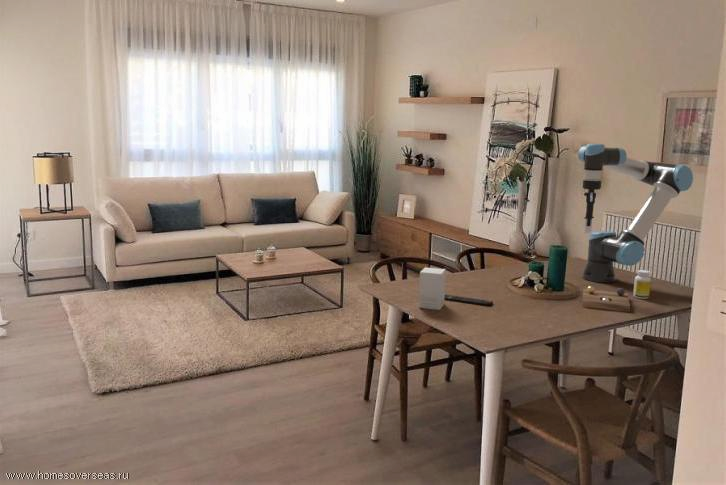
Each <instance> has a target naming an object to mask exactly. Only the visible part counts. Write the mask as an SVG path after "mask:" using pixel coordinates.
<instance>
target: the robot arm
mask: <svg viewBox="0 0 726 485" xmlns="http://www.w3.org/2000/svg"><path fill="white" fill-rule="evenodd" d="M577 158H578V160H580V162H583V163H584V165H583V166H584V167H583V171H582V172H581V174H583V180H582V189H584V190H587V192H586V193H585V198H586V199H585V202H586V210H585V211H586V212H585V216H584V218H583V219H585V223H584V234H590V236H589V239H588V248H587V250H588V251H587V260H586V264H585V266H584V268H583V270H582V273H581V274H582V275H581V278H582V279H584V280H587V281H590V282H594V283H595V282H596V283H613V282H615V281H616V280H617V276H616V270H615V267H614V263H617V264H619V265H622V266H627V267H628V266H629V267H630V266H631V267H632V266H635V265H637V264H639V263H640V262H641V261H642V260H643V258H644V255H645V253H644V252H645V250H646V249H645V243H646V242H645V239H646V237H647V235H648V234H649V232H650V231H651V229H652V228H653V227H654V225H655V224H656V223H657V220H658V219H659V218H660V217H661V215H662V214H663V212H664V210H665V209H666V207H667V206H668V204H670V201H671V200H672V199H674V198H677V197H678V196H679V195H680V193H681V192H685V191H689V189H690V188H691V187H692V184H693V182H694V177H693V176H694V174H693V171H692V169H691V168H690V166H688V165H686V164H685V165H684V164H680V163H679V164H677V163H676V164H675V163H668V162H659V161H657V162H654V161H648V160H637V159H633V158H631V157H628V155H627V152H626V150H625V149H624V148H621V147H605V145H604V143H588V144H586V145H584V146H582V147H580V148H579V150H578V152H577ZM603 168H605V169H608V170H611V171H614V172H619V173H621V174H623V175H628V176H630V177H633V179H634V180H636V181H639V182H642V183H644V184H647V185H649V186H652V187H653V190H652V191H651V193H650V194H649V196H648V198H647V199H646V200H645V202H644V203H643V205H642V207H641V208H640V209H639V210H638V212H637V213H636V215H635V217H634V218H633V220H632V221H631V223H630V224H629V225H628V227H627V229H624V230H621V231H620V232H619V234H618V235H617V233H616V231H611V230H609V231H608V230H606V231H604V230H602V231H601V230H599V231H593V232H592V227H593V219H594V218H595V217H594V205H595V203H596V197H597V193H596V192H595V191H597V190H600V189H602V188H601V187H602V181H601V180H602V179H603Z"/></svg>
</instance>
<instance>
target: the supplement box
mask: <svg viewBox="0 0 726 485" xmlns="http://www.w3.org/2000/svg"><path fill="white" fill-rule="evenodd" d="M446 272H447V271H446V268H435V267H425V266H424V268H423V269H422V270H420V272H419V289H418V292H419V294H418V298H419V299H418V308H419V309H425V310H427V309H429V310H438V311H440V310H442V308H443V306H444V305H445V301H446V300H445V295H446V291H445V290H446Z"/></svg>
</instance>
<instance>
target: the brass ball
mask: <svg viewBox="0 0 726 485" xmlns="http://www.w3.org/2000/svg"><path fill="white" fill-rule="evenodd" d="M586 289H587V292H588V293H590V294H592V293H594V292H595V290H596V287H594V286H592V285H589V286H587V287H586Z"/></svg>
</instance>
